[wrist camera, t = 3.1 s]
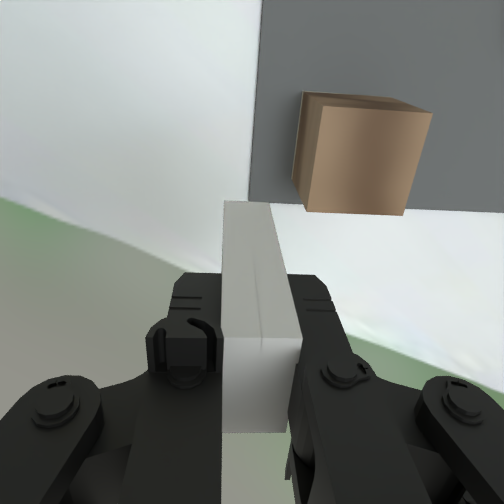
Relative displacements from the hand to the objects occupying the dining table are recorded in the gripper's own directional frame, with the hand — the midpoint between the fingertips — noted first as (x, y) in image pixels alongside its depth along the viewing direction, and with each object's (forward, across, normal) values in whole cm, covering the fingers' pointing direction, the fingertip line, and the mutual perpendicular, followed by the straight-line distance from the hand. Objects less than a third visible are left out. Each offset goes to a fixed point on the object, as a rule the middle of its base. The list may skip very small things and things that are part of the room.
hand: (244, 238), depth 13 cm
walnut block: (+15, +7, 0) cm, 17 cm away
